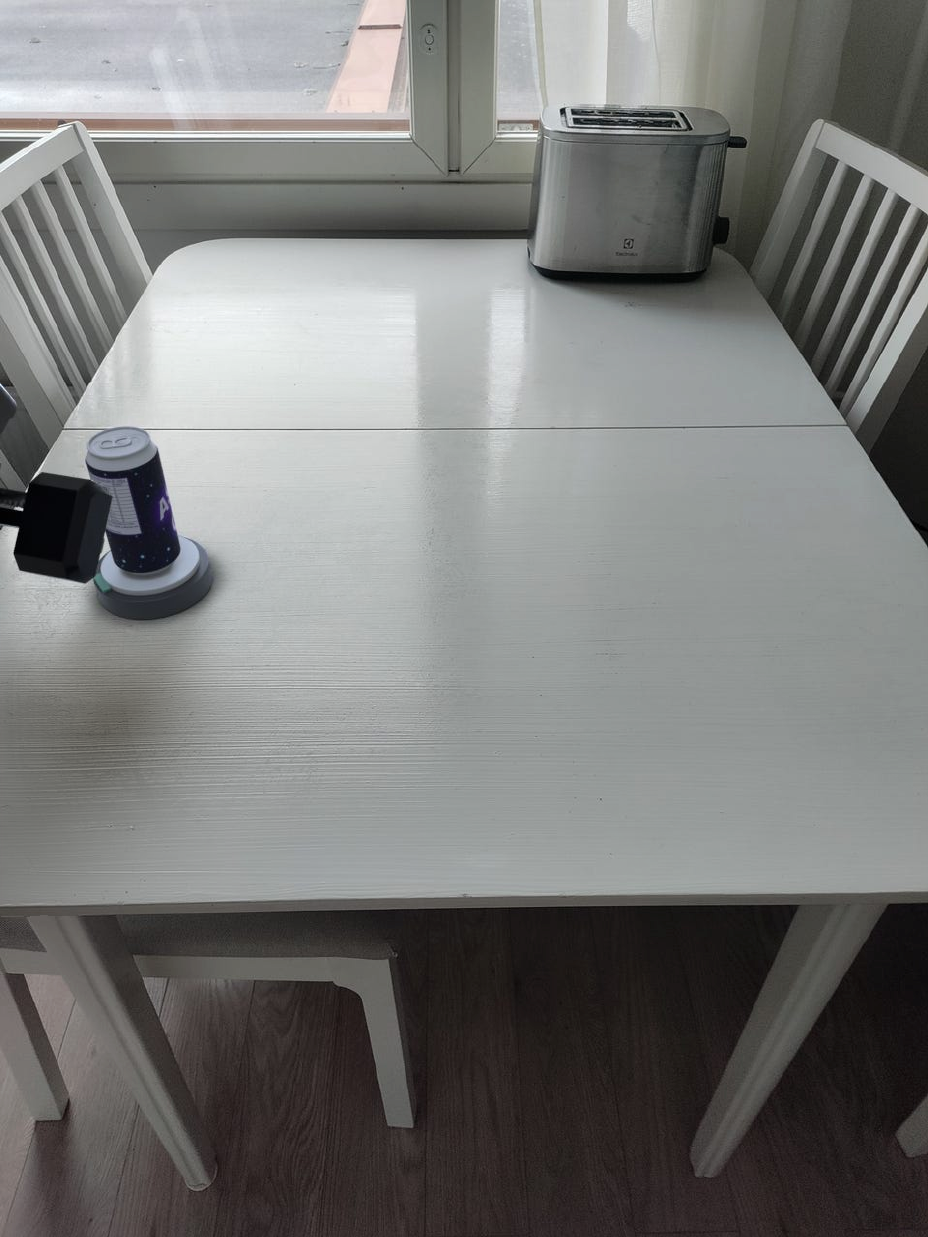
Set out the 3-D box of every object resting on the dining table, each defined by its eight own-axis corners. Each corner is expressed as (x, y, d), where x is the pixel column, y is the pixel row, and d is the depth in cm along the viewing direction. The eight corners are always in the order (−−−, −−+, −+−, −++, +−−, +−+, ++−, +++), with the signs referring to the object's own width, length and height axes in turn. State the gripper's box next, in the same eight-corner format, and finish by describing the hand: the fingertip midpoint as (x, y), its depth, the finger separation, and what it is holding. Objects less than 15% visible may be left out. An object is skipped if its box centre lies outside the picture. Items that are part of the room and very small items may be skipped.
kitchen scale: (122, 635, 80) (115, 611, 79) (81, 576, 87) (74, 553, 85) (231, 591, 85) (227, 568, 83) (185, 538, 91) (180, 516, 90)
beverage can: (184, 575, 83) (156, 453, 75) (115, 586, 81) (79, 463, 74) (181, 538, 87) (154, 419, 79) (116, 548, 86) (82, 428, 78)
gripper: (52, 362, 52) (186, 443, 67) (-234, 323, 55) (-44, 409, 70) (6, 564, 51) (153, 599, 66) (-280, 511, 54) (-79, 557, 70)
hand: (43, 535), depth 68 cm, fingers open, 9 cm apart
